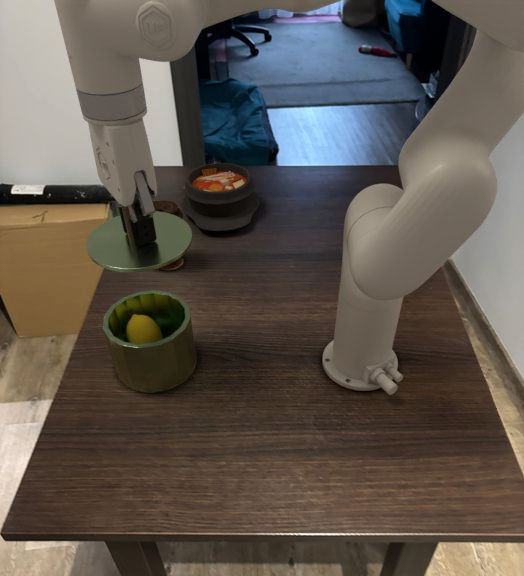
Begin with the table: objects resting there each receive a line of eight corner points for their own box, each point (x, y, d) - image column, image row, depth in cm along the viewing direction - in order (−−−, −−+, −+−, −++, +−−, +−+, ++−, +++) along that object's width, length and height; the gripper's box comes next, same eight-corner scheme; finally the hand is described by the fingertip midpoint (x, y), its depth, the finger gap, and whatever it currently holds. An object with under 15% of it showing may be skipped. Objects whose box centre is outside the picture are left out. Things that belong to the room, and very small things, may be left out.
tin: (210, 371, 89) (204, 325, 82) (135, 405, 84) (122, 359, 77) (176, 326, 97) (168, 280, 90) (105, 354, 92) (91, 309, 85)
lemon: (141, 360, 92) (119, 319, 90) (170, 346, 93) (149, 305, 91) (139, 367, 87) (116, 324, 85) (170, 352, 87) (147, 309, 85)
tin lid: (211, 253, 73) (206, 207, 68) (109, 289, 68) (96, 242, 63) (166, 208, 82) (160, 164, 77) (74, 236, 77) (60, 191, 72)
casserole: (181, 187, 135) (176, 156, 129) (253, 182, 136) (252, 150, 130) (184, 241, 117) (179, 207, 111) (266, 234, 119) (266, 200, 113)
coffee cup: (167, 280, 107) (157, 224, 98) (139, 265, 111) (127, 210, 102) (196, 259, 112) (189, 204, 103) (168, 246, 116) (159, 192, 107)
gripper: (60, 86, 65) (95, 218, 78) (106, 132, 55) (137, 274, 68) (118, 75, 68) (142, 204, 81) (171, 116, 58) (189, 256, 71)
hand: (140, 235), depth 74 cm, fingers closed on tin lid, 3 cm apart
